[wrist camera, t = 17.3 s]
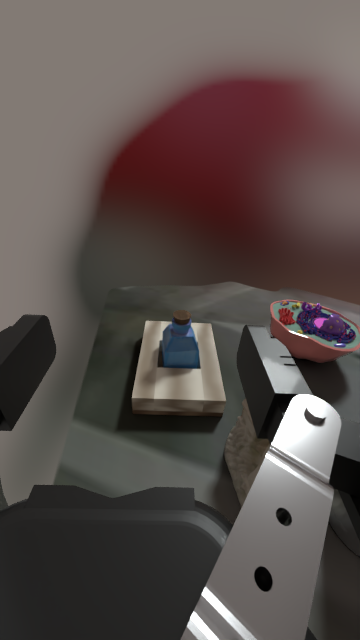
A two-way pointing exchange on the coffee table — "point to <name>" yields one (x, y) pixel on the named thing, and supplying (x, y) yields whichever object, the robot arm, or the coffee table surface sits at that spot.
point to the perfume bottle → (180, 343)
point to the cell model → (313, 331)
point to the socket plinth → (178, 377)
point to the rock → (244, 454)
